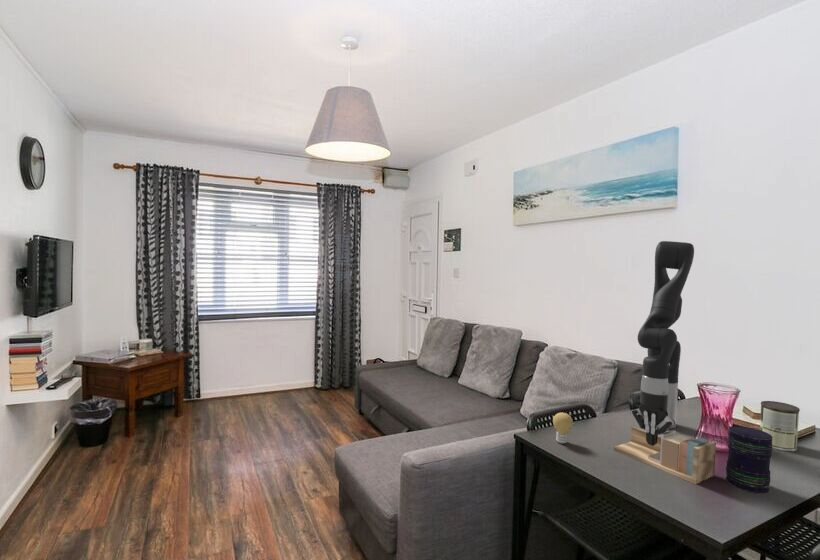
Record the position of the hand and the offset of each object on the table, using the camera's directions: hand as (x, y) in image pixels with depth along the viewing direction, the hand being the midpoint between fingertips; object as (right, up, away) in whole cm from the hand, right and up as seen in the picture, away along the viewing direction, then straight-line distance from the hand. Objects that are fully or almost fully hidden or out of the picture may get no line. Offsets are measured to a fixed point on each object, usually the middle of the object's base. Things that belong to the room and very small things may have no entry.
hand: (651, 444), depth 136 cm
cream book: (+4, -4, -7) cm, 8 cm away
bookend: (+2, -3, -3) cm, 5 cm away
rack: (+2, -5, -2) cm, 5 cm away
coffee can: (+52, -6, +14) cm, 54 cm away
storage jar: (+18, -6, -15) cm, 24 cm away
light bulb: (-25, -3, +10) cm, 27 cm away
